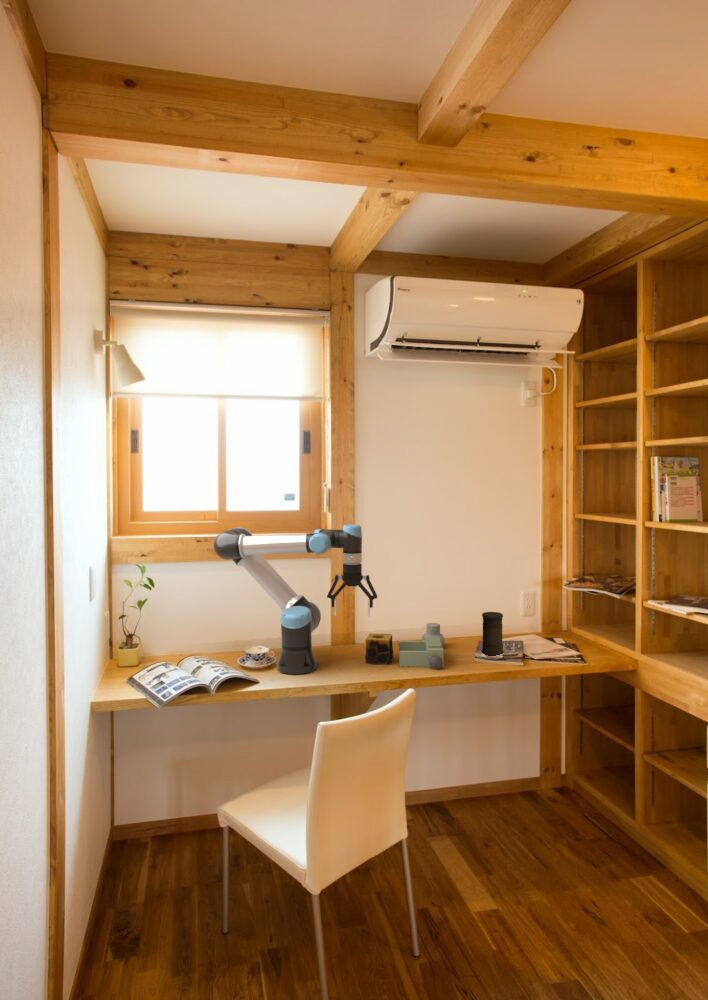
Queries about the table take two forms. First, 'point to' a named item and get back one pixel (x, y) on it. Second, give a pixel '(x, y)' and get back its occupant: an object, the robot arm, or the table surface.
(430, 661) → the green toy truck
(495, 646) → the container
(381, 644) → the olive cube with hole
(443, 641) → the air freshener
